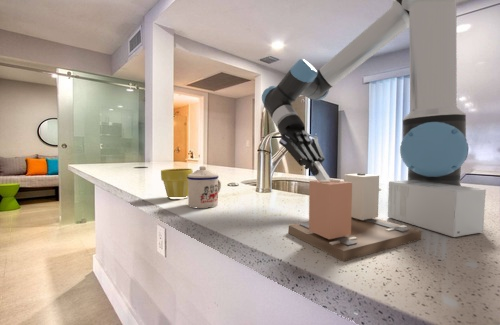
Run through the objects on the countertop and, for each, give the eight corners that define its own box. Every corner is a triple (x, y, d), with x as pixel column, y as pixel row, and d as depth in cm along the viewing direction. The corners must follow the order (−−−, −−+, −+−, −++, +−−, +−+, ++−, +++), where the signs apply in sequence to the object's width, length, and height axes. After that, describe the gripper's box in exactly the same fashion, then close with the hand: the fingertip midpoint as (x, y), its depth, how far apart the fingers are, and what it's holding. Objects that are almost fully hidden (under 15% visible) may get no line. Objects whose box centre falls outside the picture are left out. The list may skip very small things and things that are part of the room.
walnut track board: (357, 219, 59) (358, 212, 59) (421, 239, 46) (421, 229, 46) (288, 232, 50) (288, 224, 50) (343, 261, 37) (343, 249, 37)
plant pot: (155, 198, 84) (154, 169, 83) (179, 194, 92) (179, 167, 92) (175, 202, 78) (174, 171, 77) (199, 197, 86) (199, 169, 86)
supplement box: (413, 214, 63) (484, 234, 49) (386, 217, 61) (453, 239, 46) (415, 179, 63) (488, 188, 49) (388, 180, 60) (456, 191, 46)
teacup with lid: (203, 210, 68) (202, 167, 67) (181, 206, 73) (180, 166, 72) (231, 202, 77) (230, 165, 77) (209, 199, 83) (209, 164, 82)
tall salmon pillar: (329, 226, 47) (330, 177, 47) (350, 234, 43) (352, 180, 42) (308, 230, 45) (309, 179, 44) (329, 239, 41) (330, 182, 40)
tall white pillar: (358, 211, 58) (359, 172, 57) (377, 217, 54) (379, 174, 53) (342, 214, 56) (343, 173, 55) (362, 220, 51) (363, 175, 51)
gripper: (300, 132, 82) (337, 190, 68) (265, 131, 77) (298, 194, 63) (310, 114, 77) (353, 173, 63) (275, 112, 71) (313, 175, 58)
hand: (326, 183), depth 63 cm, fingers closed
